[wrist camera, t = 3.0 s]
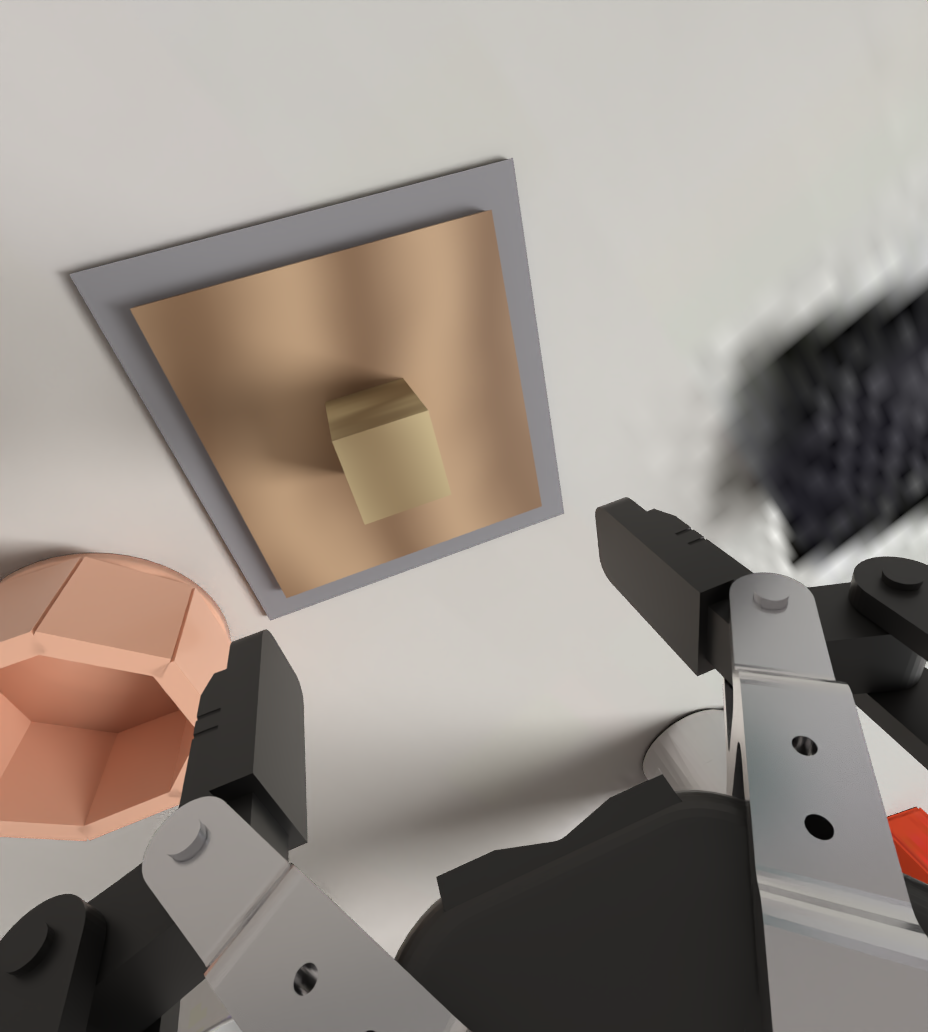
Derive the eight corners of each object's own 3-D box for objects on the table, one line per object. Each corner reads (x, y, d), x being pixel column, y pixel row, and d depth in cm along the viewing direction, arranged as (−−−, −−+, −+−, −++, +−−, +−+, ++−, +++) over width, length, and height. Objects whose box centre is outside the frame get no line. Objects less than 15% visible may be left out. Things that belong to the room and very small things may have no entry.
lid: (485, 210, 21) (543, 201, 16) (536, 499, 28) (586, 554, 23) (135, 306, 19) (80, 329, 14) (286, 589, 26) (284, 669, 21)
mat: (509, 159, 21) (512, 157, 20) (560, 510, 29) (564, 513, 29) (73, 273, 18) (69, 274, 18) (270, 615, 27) (270, 620, 27)
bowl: (163, 520, 23) (126, 598, 18) (265, 679, 29) (259, 772, 24) (-97, 605, 22) (-214, 716, 17) (64, 755, 28) (12, 871, 23)
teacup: (153, 936, 37) (121, 1092, 30) (285, 859, 37) (282, 997, 30) (272, 983, 44) (268, 1118, 37) (381, 919, 44) (396, 1041, 38)
